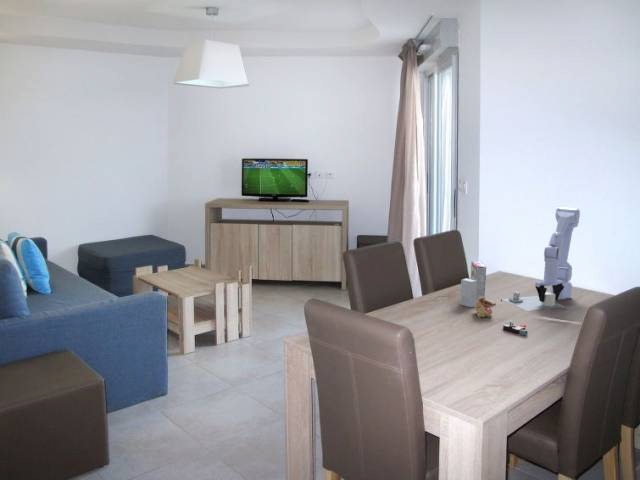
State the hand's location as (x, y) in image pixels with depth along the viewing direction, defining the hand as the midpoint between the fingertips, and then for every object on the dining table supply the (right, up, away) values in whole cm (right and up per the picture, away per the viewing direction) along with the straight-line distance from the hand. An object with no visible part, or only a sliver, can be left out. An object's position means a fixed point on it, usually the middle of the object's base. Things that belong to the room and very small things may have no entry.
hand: (548, 300), depth 282 cm
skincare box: (-37, -2, 0) cm, 37 cm away
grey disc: (-13, -2, +5) cm, 14 cm away
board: (-7, -2, +3) cm, 7 cm away
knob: (0, -2, 0) cm, 2 cm away
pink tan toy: (-34, -5, -14) cm, 37 cm away
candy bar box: (-29, 0, +14) cm, 33 cm away
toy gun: (-24, -9, -34) cm, 43 cm away
